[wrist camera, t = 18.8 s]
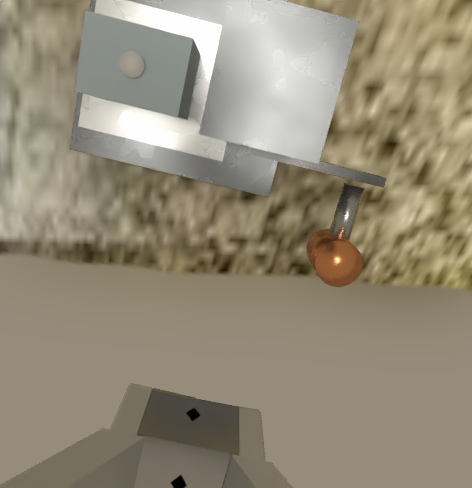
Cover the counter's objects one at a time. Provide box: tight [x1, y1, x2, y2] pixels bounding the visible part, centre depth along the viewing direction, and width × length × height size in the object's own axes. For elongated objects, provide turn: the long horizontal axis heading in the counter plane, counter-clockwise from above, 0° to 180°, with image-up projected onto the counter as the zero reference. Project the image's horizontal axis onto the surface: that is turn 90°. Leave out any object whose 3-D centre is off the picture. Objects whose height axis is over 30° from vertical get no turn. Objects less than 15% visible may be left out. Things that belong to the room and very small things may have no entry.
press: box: [70, 0, 387, 197], centre depth 27 cm, size 23×14×18 cm, turn 76°
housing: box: [74, 10, 201, 120], centre depth 31 cm, size 7×5×6 cm
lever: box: [307, 183, 365, 287], centre depth 29 cm, size 3×6×4 cm, turn 167°
